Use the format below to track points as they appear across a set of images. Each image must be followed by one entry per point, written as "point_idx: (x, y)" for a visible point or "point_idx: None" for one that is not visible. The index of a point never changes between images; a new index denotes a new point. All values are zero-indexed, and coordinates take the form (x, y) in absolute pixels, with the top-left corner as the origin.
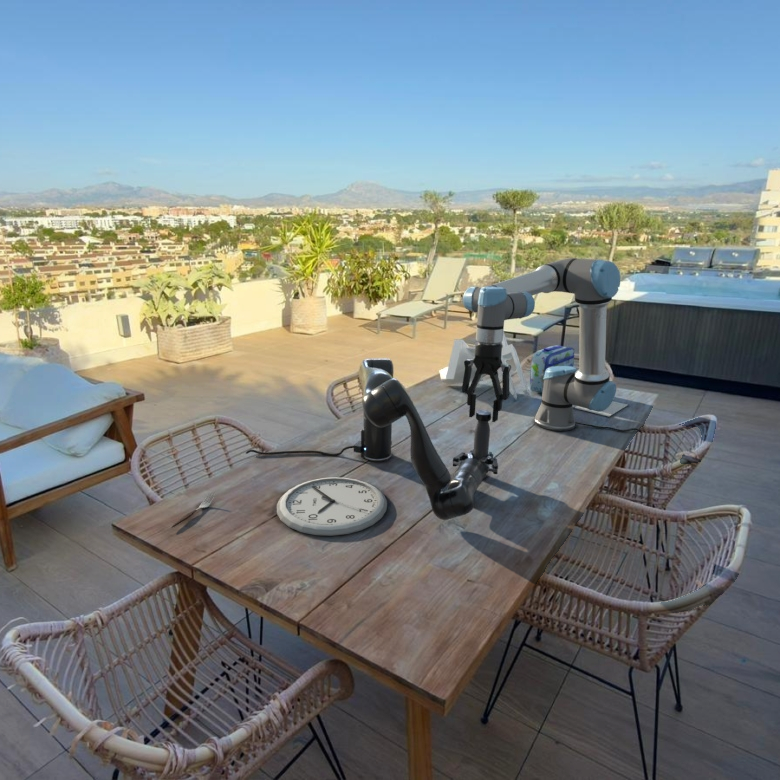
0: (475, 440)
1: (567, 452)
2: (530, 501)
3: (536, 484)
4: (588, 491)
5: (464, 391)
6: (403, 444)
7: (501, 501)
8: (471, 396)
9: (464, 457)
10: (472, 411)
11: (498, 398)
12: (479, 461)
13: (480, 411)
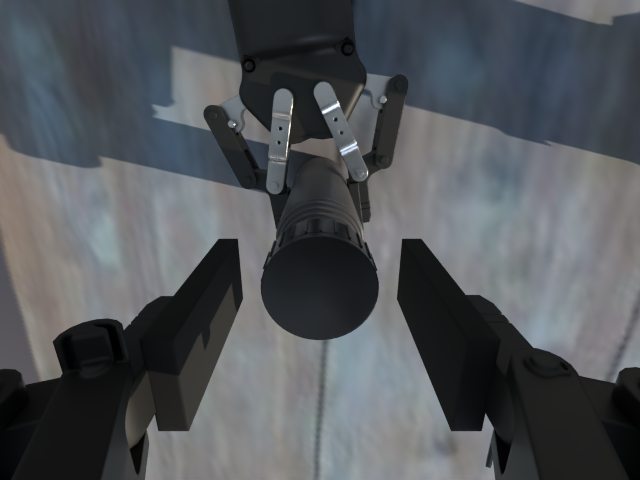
0: (342, 190)
1: (168, 447)
2: (106, 100)
3: (146, 224)
4: (12, 262)
5: (631, 381)
6: (635, 264)
7: (180, 41)
8: (485, 341)
9: (373, 151)
10: (411, 271)
11: (84, 367)
12: (258, 38)
13: (351, 299)
